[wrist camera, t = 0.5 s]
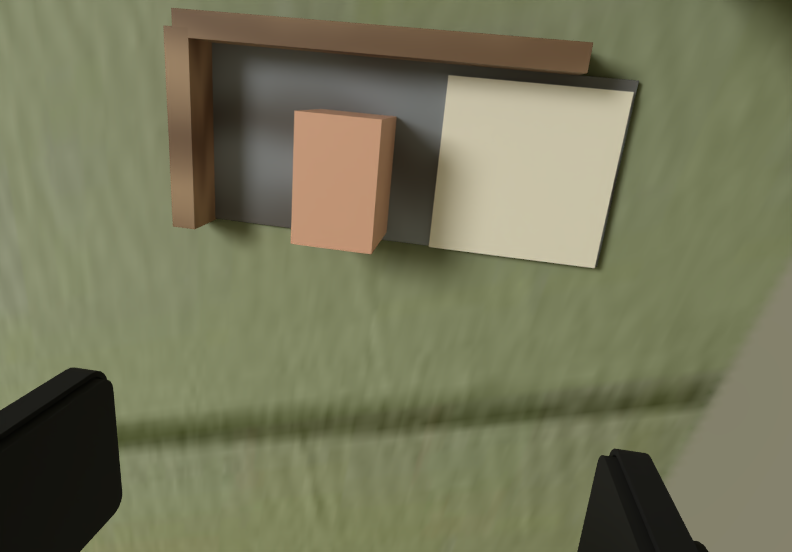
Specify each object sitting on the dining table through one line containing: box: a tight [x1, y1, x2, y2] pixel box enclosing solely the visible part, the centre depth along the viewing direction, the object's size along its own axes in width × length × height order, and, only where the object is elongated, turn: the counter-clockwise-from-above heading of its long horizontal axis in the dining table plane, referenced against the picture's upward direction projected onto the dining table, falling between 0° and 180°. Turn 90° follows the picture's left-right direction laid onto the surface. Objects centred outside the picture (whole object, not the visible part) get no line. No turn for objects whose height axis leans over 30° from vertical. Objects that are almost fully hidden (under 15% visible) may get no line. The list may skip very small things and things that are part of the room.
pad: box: [429, 75, 634, 268], centre depth 31 cm, size 10×10×1 cm
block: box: [291, 109, 397, 254], centre depth 30 cm, size 7×4×5 cm, turn 175°
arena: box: [164, 8, 639, 267], centre depth 31 cm, size 12×26×3 cm, turn 85°
